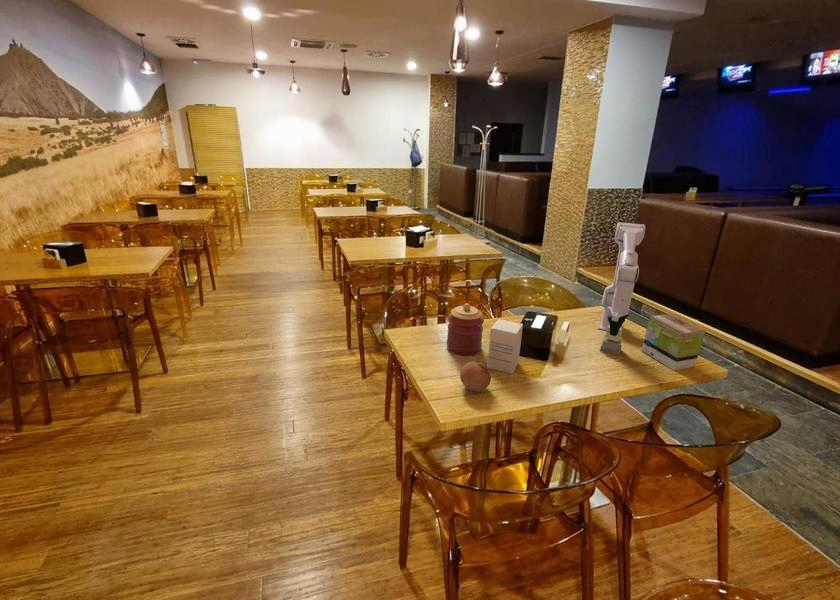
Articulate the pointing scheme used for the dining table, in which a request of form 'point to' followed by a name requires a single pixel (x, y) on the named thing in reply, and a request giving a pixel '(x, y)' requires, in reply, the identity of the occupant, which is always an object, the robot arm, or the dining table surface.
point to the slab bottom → (610, 351)
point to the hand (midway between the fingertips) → (614, 333)
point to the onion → (475, 376)
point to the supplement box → (504, 346)
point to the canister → (465, 330)
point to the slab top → (611, 344)
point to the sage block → (615, 338)
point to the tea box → (673, 341)
